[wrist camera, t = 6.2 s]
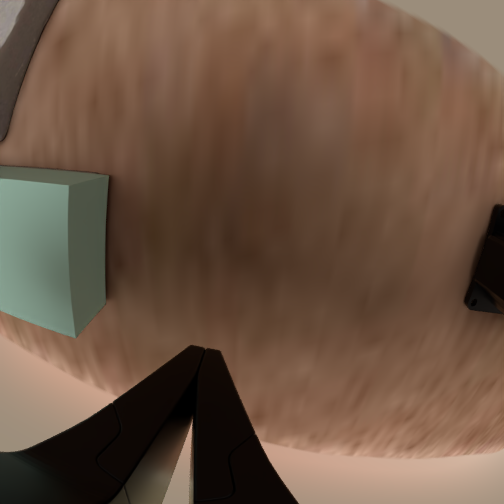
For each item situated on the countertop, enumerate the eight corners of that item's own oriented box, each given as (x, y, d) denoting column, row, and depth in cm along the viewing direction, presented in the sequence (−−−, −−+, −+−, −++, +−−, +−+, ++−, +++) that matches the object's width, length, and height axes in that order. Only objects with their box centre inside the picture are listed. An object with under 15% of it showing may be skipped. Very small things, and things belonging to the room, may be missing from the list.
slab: (68, 185, 10) (-50, 174, 10) (75, 338, 13) (-37, 293, 12) (108, 175, 14) (-8, 165, 14) (105, 303, 16) (-3, 271, 16)
